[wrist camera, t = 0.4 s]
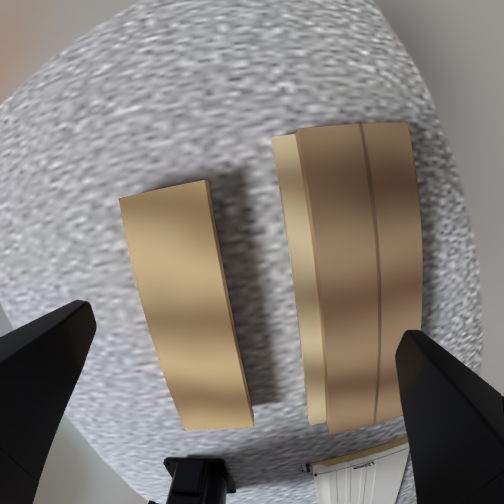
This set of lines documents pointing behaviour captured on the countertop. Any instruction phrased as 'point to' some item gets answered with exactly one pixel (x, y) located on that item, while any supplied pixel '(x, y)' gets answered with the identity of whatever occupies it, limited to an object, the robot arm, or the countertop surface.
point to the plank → (188, 303)
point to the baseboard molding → (362, 475)
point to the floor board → (352, 264)
